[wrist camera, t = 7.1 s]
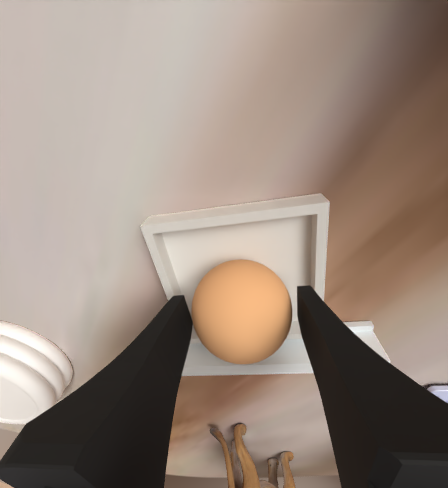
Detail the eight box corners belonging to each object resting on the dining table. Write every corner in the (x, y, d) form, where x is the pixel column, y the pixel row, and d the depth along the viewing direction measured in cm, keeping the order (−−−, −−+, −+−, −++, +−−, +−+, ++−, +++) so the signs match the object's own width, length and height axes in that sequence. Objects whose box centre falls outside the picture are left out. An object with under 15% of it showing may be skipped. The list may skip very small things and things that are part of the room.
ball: (285, 305, 15) (304, 385, 10) (208, 311, 15) (196, 389, 11) (281, 236, 12) (303, 303, 8) (190, 247, 13) (166, 314, 9)
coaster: (72, 333, 18) (38, 376, 15) (78, 394, 23) (54, 436, 20) (-57, 302, 18) (-119, 341, 15) (-22, 372, 23) (-64, 412, 20)
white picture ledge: (366, 340, 16) (386, 376, 14) (164, 349, 18) (154, 380, 16) (370, 320, 15) (392, 355, 13) (157, 332, 17) (144, 363, 15)
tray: (315, 321, 15) (321, 338, 14) (188, 328, 17) (184, 343, 16) (321, 192, 11) (329, 202, 10) (149, 215, 12) (139, 225, 11)
